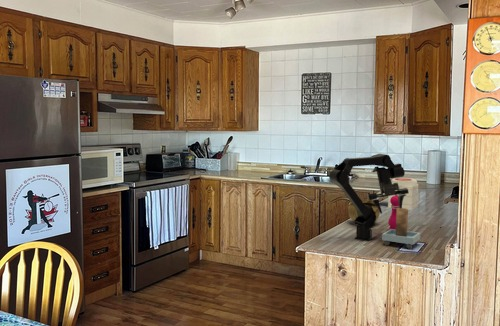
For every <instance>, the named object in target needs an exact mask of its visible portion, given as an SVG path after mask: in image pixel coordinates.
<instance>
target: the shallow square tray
mask: <svg viewBox="0 0 500 326" xmlns="http://www.w3.org/2000/svg"><path fill="white" fill-rule="evenodd" d="M421 234H422V233H421V232H416V231H409V230H407V237H404V236H397V235H396V230H395V229H390V230H389V229H388V230H387V231H385V232H384V233H382V235H381V240H382V241H384V242H383V244H384V246H387V247H388V246H389V245H390V244H391V242H393V243H394V242H395V243H400V244H405V245H406V246H405V247H406V249H407V248H408V250H411V249H412V248H413V245H417V244H418V243H419V241H420V240H421Z"/></svg>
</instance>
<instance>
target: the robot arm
mask: <svg viewBox="0 0 500 326" xmlns="http://www.w3.org/2000/svg"><path fill="white" fill-rule="evenodd" d="M363 166H365V167H366V166H374V168H373V170H372V173H376V175H377V181H378V186H379V190H380V191H381V194H377V192H373V193H370V194H367V195H366V200H367V199H368V200H371V202H373V203H374V204H375V205H376V206H377V208H378V210H379V211H380V214H381V215H382V214H383V211H382V208H381V205H380V200H379V199H378V200H377V198H379V197H383V198H385V197H388V196H391V195H397V194H398V195H399V196H398V202H399V208H402V202H403V198H404V196H406V195H405V194H408V193H409V192H408V189H407V188H402V189H399V186H398V183H393V184H392V182H391V179H393V178H404V176H405V169H404V167H403V166H402V163H396V164H395V163H394V162H393V160H392V158H391V156H390V155H389V154H385V153H384V154H383V153H376V154H373V155H371V156H365V157H353V158H352V157H351V158H349V157H346V158H345V159H343V160H342V161H341V162H340V163H339V164H338V165H336V166H335V167H334V169H332V170H331V171H330V173H329V176H328V178H329V180H330V181H331V182H332V183H333V184H334V185H335V186H337V187H338V188H340V189H341V190H342V192H343V193H344V195H345V196H346V198H347V199H348V200H349V201H350V202H349V203H352V204H353V206H354V207H355V208H356V210H357V215H358V217H357V218H356V219H355V220H354V221H353V223H354V225H355V226H356V228H355V229H356V232H355V233H356V235H355V236H356V237H355V238H354V240H359V241H365V242H366V241H367V242H368V241H370V240H372V239H373V228H374V226H375V223H376V221H377V220H376V218H377V216H376V214H375V213H376V212H374V210H373V208H372V207H370V206H367V205H364V203H363V202H364V201H363V200H362V199H361V198H360V196H359V195H358V194H357V192H356V191H355V190H354V188H353V186H352V185H351V184H350V179H349V176H350V174H351V173H352V170H353V168H355V167H363ZM395 190H397V191H395ZM380 191H379V192H380ZM384 193H385V194H384ZM383 194H384V195H383Z"/></svg>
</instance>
